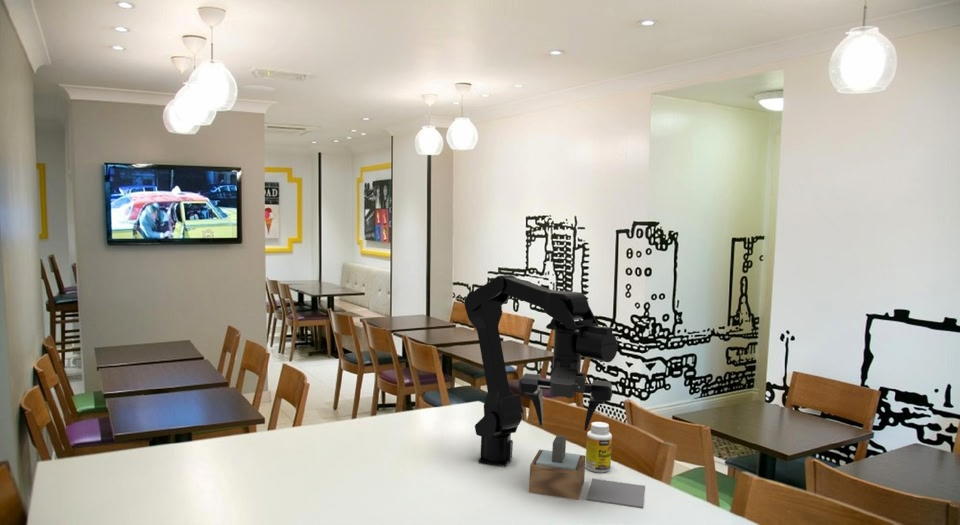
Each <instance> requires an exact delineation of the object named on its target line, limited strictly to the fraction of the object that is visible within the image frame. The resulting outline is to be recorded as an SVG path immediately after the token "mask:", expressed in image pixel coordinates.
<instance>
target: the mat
mask: <svg viewBox="0 0 960 525" xmlns="http://www.w3.org/2000/svg"><path fill="white" fill-rule="evenodd" d="M589 485H590V486H589V487H588V488H589V489H588V491H587V495H586V498H585V499H586V501H590V502H591V501H592V502H599V503H605V504H611V505H617V506H618V505H619V506H625V507H631V508H638V509H644V503H645V502H644V501H645V492H646V491H645V489H646V485H642V484H633V483H629V482H628V483H627V482H621V481H613V480H606V479H598V478H592V479H591V481H590V484H589Z"/></svg>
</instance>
